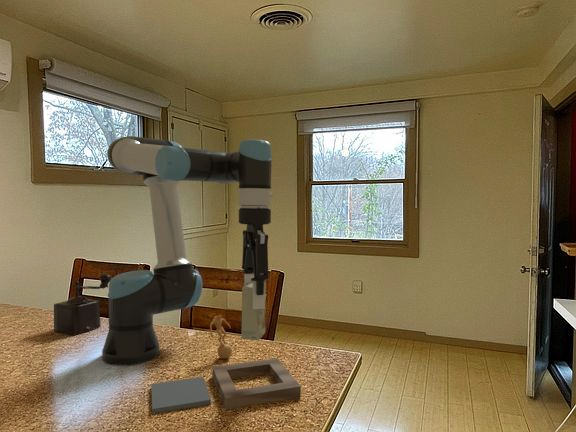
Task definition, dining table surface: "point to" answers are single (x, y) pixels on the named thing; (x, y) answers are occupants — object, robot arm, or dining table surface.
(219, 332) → the figurine
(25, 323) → the dining table surface
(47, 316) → the dining table surface
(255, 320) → the skincare box
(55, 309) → the dark grey handled box
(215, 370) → the stand
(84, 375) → the dining table surface
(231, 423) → the dining table surface
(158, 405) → the slate pad
